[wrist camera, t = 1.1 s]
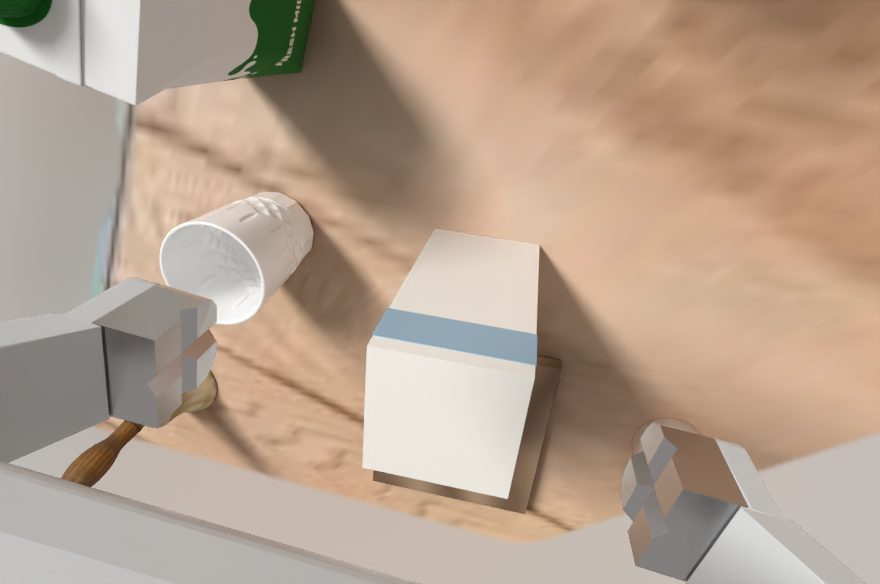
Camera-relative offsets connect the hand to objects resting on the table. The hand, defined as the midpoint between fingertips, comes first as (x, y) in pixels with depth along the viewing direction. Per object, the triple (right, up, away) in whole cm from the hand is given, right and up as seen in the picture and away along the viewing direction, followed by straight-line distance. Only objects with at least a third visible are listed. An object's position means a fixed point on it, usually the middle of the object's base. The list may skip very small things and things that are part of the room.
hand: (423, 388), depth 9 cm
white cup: (-14, +7, +35) cm, 38 cm away
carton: (+4, +3, +34) cm, 34 cm away
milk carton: (-12, +22, +27) cm, 37 cm away
